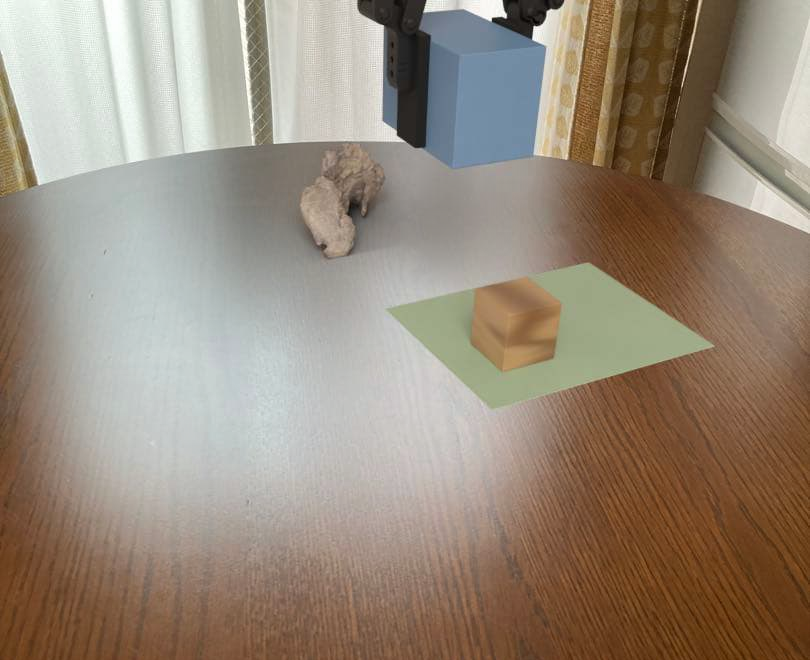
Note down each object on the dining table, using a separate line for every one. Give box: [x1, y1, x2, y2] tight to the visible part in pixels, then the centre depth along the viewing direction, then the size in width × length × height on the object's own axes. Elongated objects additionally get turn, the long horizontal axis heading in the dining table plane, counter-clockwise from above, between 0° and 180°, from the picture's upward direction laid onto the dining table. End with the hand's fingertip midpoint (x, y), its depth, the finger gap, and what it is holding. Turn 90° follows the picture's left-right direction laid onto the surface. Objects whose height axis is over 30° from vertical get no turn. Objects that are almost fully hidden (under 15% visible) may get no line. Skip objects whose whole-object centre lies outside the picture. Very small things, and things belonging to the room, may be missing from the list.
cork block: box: [471, 276, 562, 372], centre depth 67 cm, size 4×4×4 cm
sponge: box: [381, 8, 547, 170], centre depth 59 cm, size 10×6×6 cm, turn 27°
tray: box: [384, 261, 716, 411], centre depth 72 cm, size 20×16×1 cm
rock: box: [299, 140, 386, 260], centre depth 85 cm, size 6×14×7 cm, turn 165°
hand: (455, 134), depth 61 cm, fingers closed on sponge, 6 cm apart
